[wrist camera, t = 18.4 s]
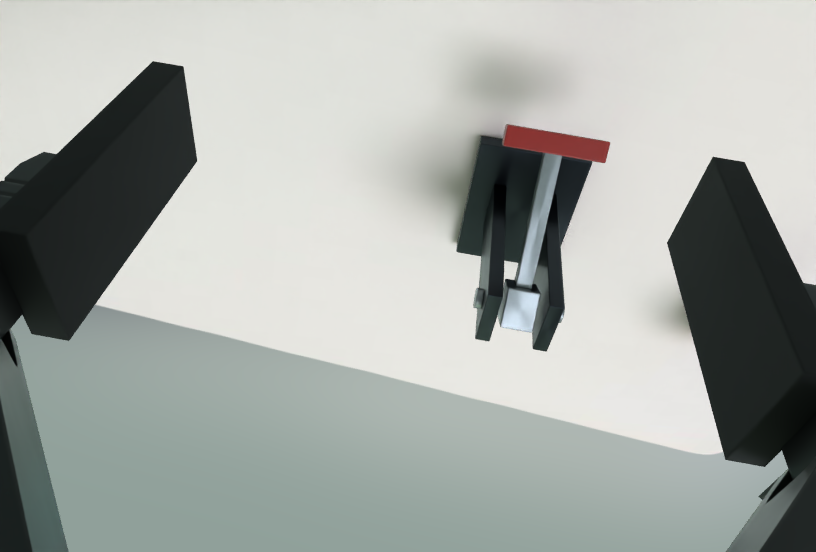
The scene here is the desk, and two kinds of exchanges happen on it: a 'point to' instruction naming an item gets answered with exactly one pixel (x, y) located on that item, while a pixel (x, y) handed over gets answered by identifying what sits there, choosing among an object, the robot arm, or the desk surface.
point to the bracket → (517, 230)
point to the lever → (539, 214)
